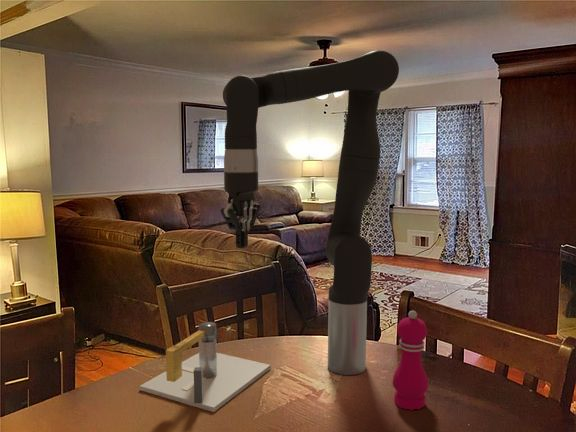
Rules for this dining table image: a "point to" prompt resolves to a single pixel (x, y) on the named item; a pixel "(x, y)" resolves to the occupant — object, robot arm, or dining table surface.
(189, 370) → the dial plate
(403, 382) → the pepper mill
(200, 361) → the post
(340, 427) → the dining table surface
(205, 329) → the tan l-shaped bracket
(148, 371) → the dining table surface
